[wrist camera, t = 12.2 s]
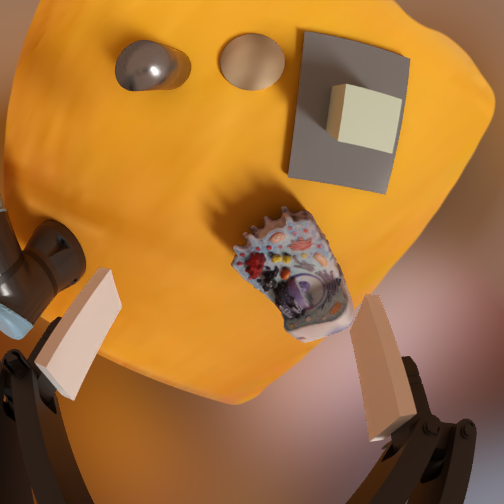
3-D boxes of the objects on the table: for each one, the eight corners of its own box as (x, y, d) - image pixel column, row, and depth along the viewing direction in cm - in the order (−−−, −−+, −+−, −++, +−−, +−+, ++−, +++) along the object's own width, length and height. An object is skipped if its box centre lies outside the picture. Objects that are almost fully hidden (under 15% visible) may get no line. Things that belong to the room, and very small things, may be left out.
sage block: (325, 130, 31) (337, 141, 24) (331, 86, 27) (346, 83, 21) (369, 140, 30) (392, 153, 24) (377, 97, 27) (402, 99, 20)
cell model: (302, 358, 40) (209, 276, 33) (302, 311, 49) (227, 234, 42) (378, 323, 34) (296, 216, 28) (364, 277, 43) (294, 184, 37)
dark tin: (149, 91, 31) (114, 93, 23) (151, 52, 27) (116, 45, 20) (189, 89, 30) (162, 88, 23) (192, 48, 27) (165, 36, 19)
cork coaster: (220, 90, 30) (219, 89, 30) (223, 35, 26) (221, 34, 25) (283, 92, 30) (283, 92, 29) (286, 37, 26) (286, 35, 25)
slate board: (287, 174, 36) (287, 177, 35) (304, 33, 25) (304, 31, 24) (382, 191, 35) (385, 194, 34) (406, 59, 24) (410, 58, 23)
